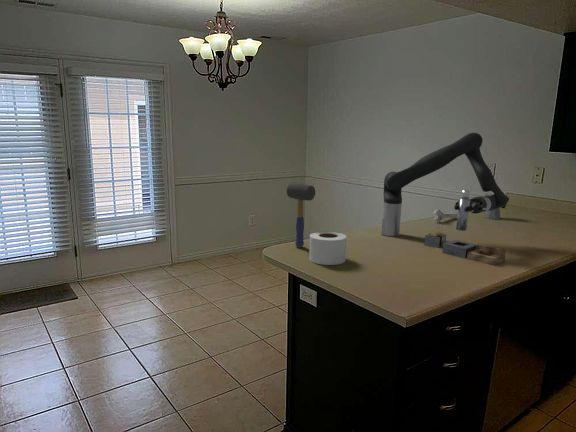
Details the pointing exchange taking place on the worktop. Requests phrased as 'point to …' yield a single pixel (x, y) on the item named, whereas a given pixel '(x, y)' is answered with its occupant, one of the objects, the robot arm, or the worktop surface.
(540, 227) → the worktop surface
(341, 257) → the white toilet paper roll
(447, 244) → the socket block
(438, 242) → the guide
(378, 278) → the worktop surface
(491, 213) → the coffeepot
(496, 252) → the brown hollowed block
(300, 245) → the rubber mallet
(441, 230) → the tan flat block
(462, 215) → the metal spray bottle
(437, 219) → the wrench
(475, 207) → the robot arm
